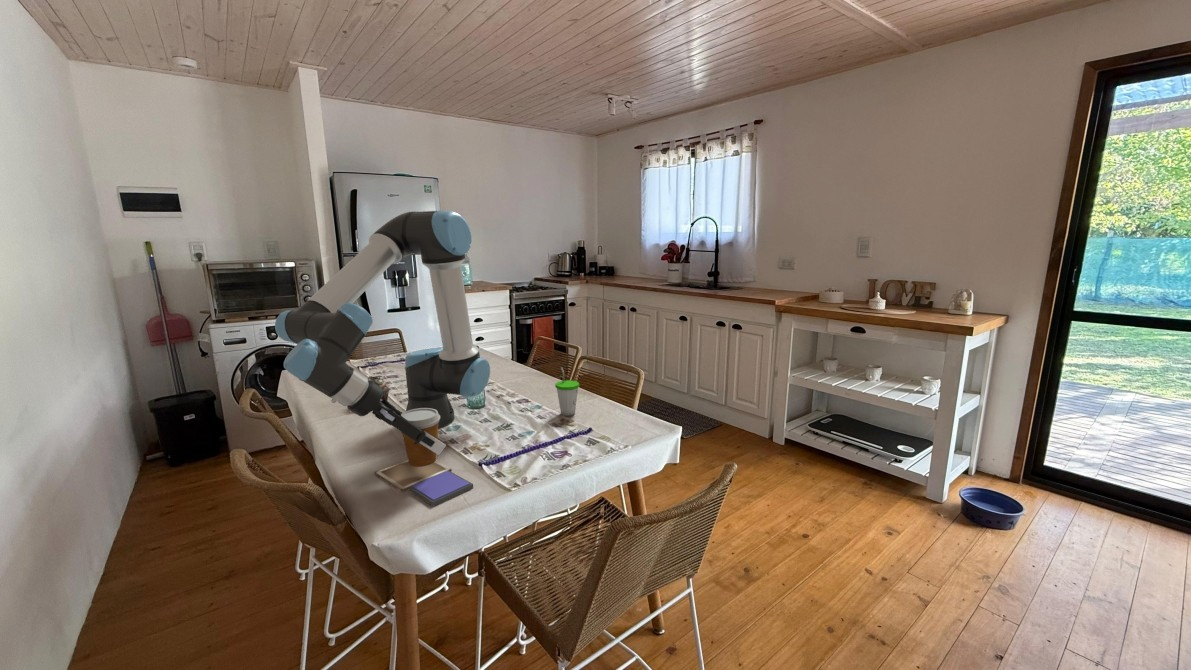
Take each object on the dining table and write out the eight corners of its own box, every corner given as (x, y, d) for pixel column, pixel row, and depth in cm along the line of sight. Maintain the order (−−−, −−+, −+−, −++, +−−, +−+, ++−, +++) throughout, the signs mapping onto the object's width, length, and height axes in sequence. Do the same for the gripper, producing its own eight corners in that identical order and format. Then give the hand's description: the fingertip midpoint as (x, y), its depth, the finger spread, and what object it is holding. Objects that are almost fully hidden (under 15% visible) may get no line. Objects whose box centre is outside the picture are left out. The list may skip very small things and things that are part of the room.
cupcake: (360, 402, 173) (357, 375, 171) (389, 398, 177) (387, 372, 175) (359, 411, 164) (356, 382, 162) (390, 406, 168) (388, 379, 166)
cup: (579, 418, 157) (578, 373, 154) (554, 418, 157) (553, 373, 154) (580, 409, 164) (579, 366, 161) (557, 409, 164) (556, 366, 161)
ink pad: (448, 474, 120) (448, 469, 120) (473, 487, 114) (473, 483, 114) (408, 490, 113) (408, 485, 113) (433, 506, 106) (432, 501, 106)
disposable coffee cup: (447, 452, 123) (444, 406, 120) (436, 469, 113) (433, 421, 111) (409, 453, 122) (405, 407, 120) (395, 470, 113) (391, 421, 111)
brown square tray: (423, 455, 130) (423, 453, 130) (451, 471, 122) (451, 468, 122) (375, 474, 121) (374, 471, 121) (401, 491, 112) (401, 489, 112)
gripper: (336, 394, 114) (411, 441, 127) (356, 421, 97) (440, 472, 110) (358, 369, 116) (430, 417, 129) (382, 391, 99) (461, 444, 112)
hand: (435, 443), depth 119 cm, fingers closed on disposable coffee cup, 9 cm apart
